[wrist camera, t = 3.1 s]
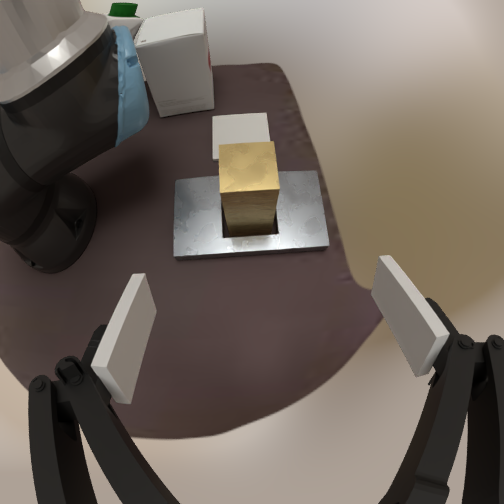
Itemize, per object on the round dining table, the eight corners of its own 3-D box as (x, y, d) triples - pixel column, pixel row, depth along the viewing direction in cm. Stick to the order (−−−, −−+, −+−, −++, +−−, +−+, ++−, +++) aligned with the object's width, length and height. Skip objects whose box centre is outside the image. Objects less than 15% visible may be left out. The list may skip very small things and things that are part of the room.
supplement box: (215, 110, 40) (204, 33, 26) (159, 119, 40) (132, 47, 26) (214, 75, 43) (205, 6, 28) (163, 83, 42) (143, 17, 28)
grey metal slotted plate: (177, 260, 34) (173, 256, 32) (178, 187, 37) (175, 179, 35) (325, 250, 35) (329, 245, 33) (313, 178, 37) (316, 170, 35)
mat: (213, 161, 38) (212, 159, 37) (213, 118, 40) (212, 116, 39) (271, 157, 38) (272, 155, 37) (266, 115, 40) (266, 112, 39)
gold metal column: (229, 236, 35) (219, 192, 24) (228, 199, 36) (218, 144, 25) (270, 234, 35) (279, 188, 24) (267, 197, 36) (273, 141, 25)
